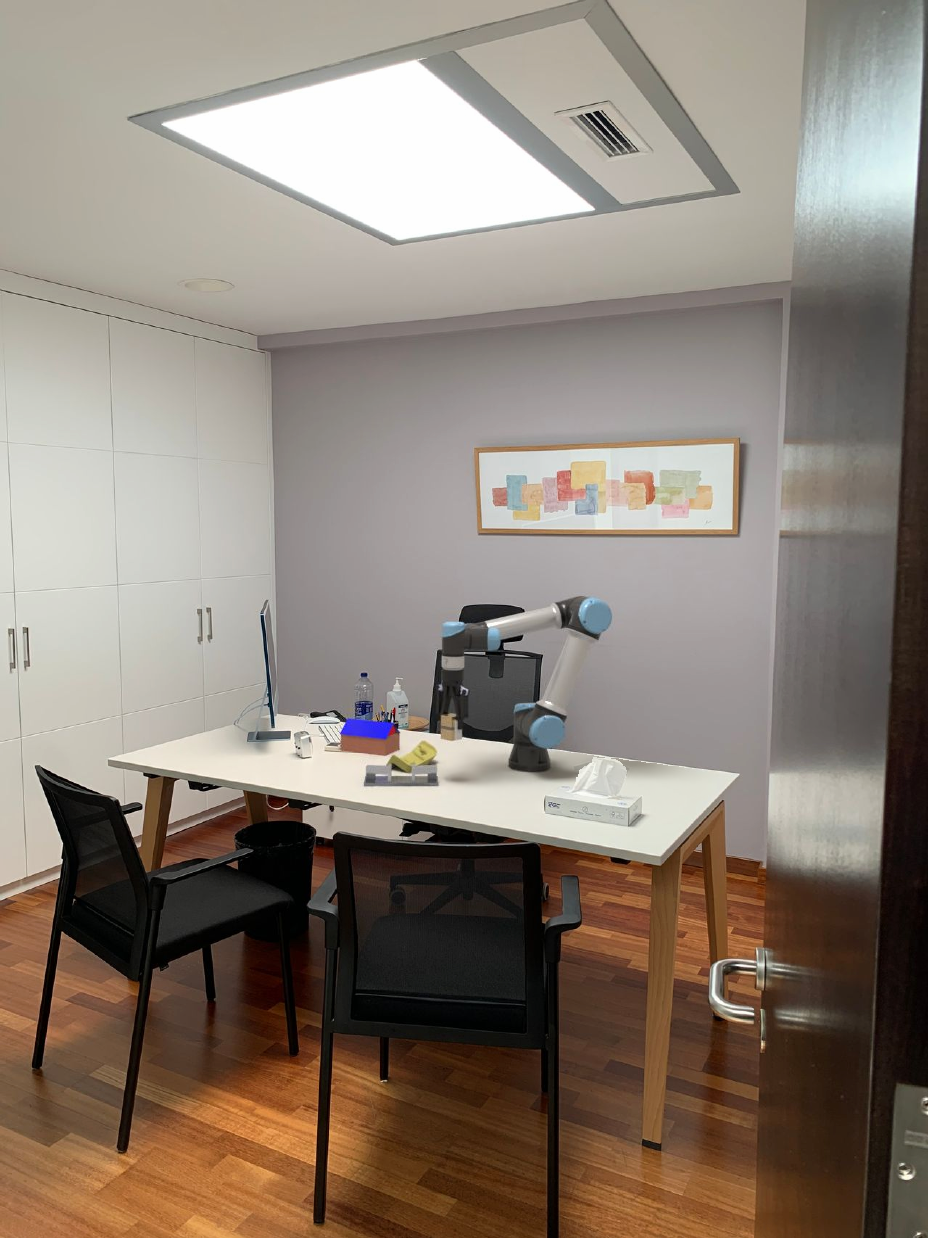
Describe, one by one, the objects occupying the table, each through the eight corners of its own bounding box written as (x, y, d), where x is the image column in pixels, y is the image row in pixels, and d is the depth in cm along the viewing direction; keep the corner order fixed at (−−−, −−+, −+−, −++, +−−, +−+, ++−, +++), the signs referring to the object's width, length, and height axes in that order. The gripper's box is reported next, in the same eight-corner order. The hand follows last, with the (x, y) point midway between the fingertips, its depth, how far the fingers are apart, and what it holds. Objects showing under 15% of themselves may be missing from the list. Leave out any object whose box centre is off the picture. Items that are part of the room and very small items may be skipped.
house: (385, 756, 340) (385, 726, 339) (339, 751, 348) (339, 721, 347) (400, 750, 351) (400, 720, 350) (355, 745, 359) (355, 715, 358)
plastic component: (412, 767, 315) (390, 752, 318) (405, 785, 317) (383, 769, 321) (442, 752, 331) (421, 737, 335) (435, 768, 334) (414, 754, 338)
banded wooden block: (451, 736, 308) (451, 713, 307) (462, 739, 304) (462, 715, 304) (440, 738, 304) (440, 715, 303) (451, 741, 300) (452, 717, 300)
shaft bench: (437, 778, 309) (437, 762, 308) (438, 786, 300) (438, 769, 299) (365, 779, 307) (365, 762, 307) (363, 786, 298) (363, 769, 298)
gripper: (425, 666, 306) (424, 735, 308) (465, 672, 293) (464, 743, 295) (440, 664, 311) (439, 731, 313) (480, 670, 299) (479, 740, 301)
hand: (451, 737), depth 304 cm, fingers closed on banded wooden block, 5 cm apart
